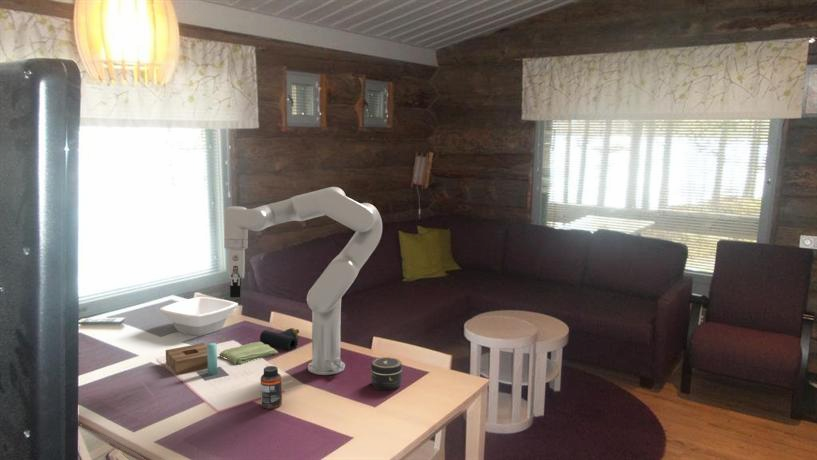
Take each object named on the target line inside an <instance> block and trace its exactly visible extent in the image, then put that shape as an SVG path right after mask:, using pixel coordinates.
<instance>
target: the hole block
mask: <svg viewBox="0 0 817 460" xmlns="http://www.w3.org/2000/svg"><path fill="white" fill-rule="evenodd" d="M165 364H166V365H167V366H168V367H169V368H170V369H171V371H173V372H174V374H175V375H177V376H178V375H183V374H187V373H193V372H198V371H203V370H207V369H208V361H207V344H205V343H204V342H202V343H197V344H193V345H192V344H191V345H186V346H181V347H175V348H169V349H165Z"/></svg>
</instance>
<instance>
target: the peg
mask: <svg viewBox="0 0 817 460" xmlns="http://www.w3.org/2000/svg"><path fill="white" fill-rule="evenodd" d="M206 346H207V361H208V368H207V369H208V375H216V374H217V367H218V349H217V348H218V347H217V346H218V345H217V342H209V343H207V344H206Z"/></svg>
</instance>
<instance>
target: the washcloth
mask: <svg viewBox="0 0 817 460" xmlns="http://www.w3.org/2000/svg"><path fill="white" fill-rule="evenodd" d="M277 354H279V352H278V350H276V349H275V348H273V347H272V346H271V345H269V344H265V343H262V342H261V341H256V342H250V343H249V342H248V343H246V344H242V345H240V346H235V347H231V348H228V349H224V350H222V351H221V352H219V354H218V355H220V356H222V357H225V358H227V359H229V360H230V361H229V362H230V363H231V362H232V363H231V364H234V365H236V366H237V365H243V364H247V363H249V362H248V361H250V362H252V361H251V360H253V361H255V360H254V359H256V360H258V359H257V358H259V359H263V358H268V357H272V356H274V355H277ZM220 356H219V357H220ZM222 357H221V358H222ZM246 362H247V363H246Z"/></svg>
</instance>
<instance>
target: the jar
mask: <svg viewBox="0 0 817 460" xmlns="http://www.w3.org/2000/svg"><path fill="white" fill-rule="evenodd" d="M402 371H403V362H402V361H401V360H400V359H398V358H395V357H387V356H385V357H378V358H375V359H373V360H372V361H371V364H370V378H371V379H370V380H371V385H372V386H373V388H375V389H376V390H379V391H393V390H397V389H398V388H399V387H400V386H401V384H402V376H403V373H402Z"/></svg>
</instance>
